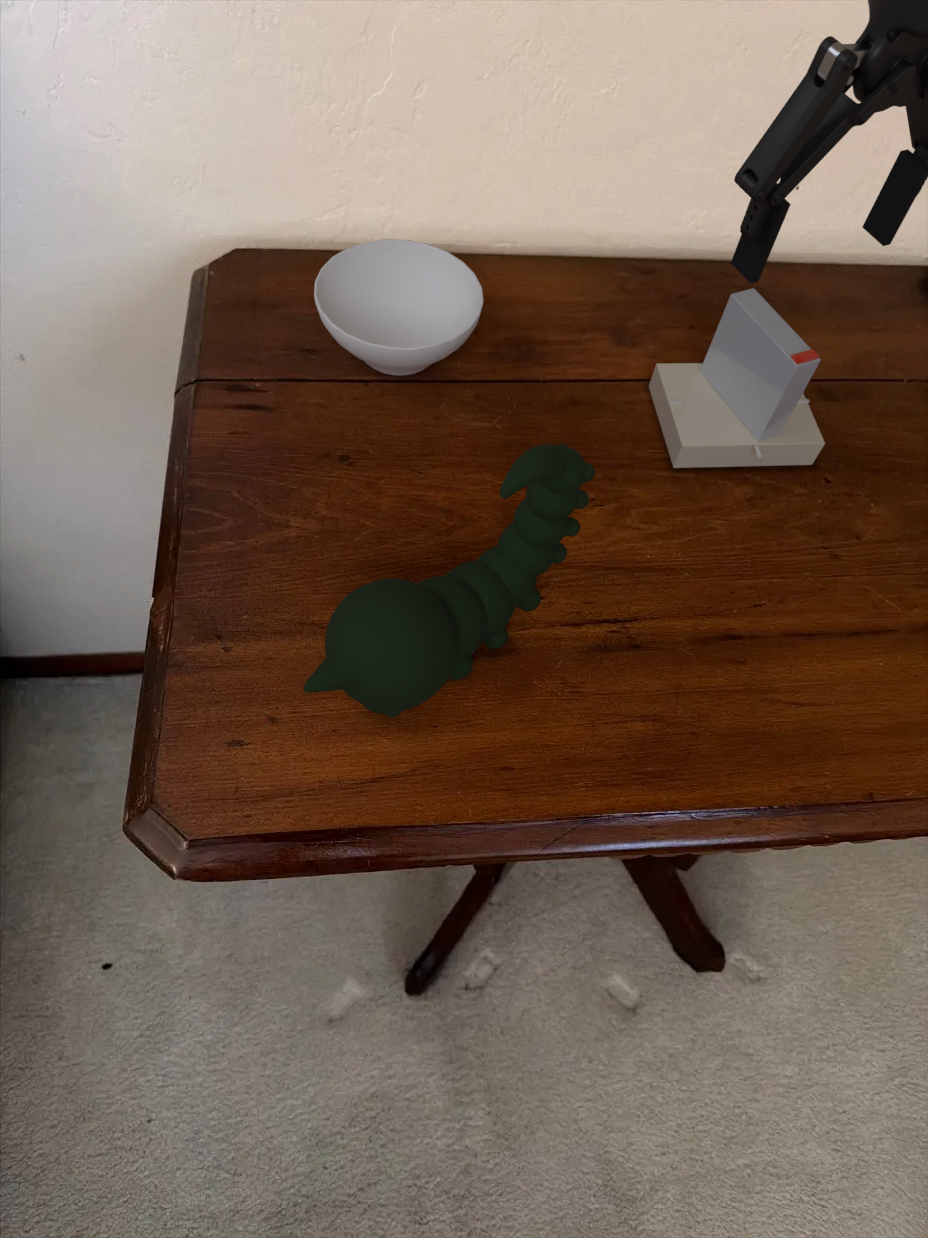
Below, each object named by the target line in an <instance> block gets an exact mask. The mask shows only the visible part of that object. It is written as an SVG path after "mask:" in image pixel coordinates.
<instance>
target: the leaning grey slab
mask: <svg viewBox="0 0 928 1238" xmlns="http://www.w3.org/2000/svg"><path fill="white" fill-rule="evenodd" d="M821 361H822V359H821V358H820V355H819V354H818V353H817V352H816V351H815V349H813V348H811V347H810V346H809V345H808V344H807V343H806V341H804V339H802V337H800V335H798V333H797V332H796V331H795V330H794V329H793V328H792V327H791V326H790V325H789V324H788V323H787V322H786V321H785V319H783V317H782V316H781V315H780V314H779V313H778V312H777V311H776V310H775V308H773V306H771V305H770V303H769V302H768V301H767V300H766V299H765V298H764V297H763V296H762V295H761V294H760V293H759V292H758V290H757V289H755V288H754V287H752V288H748V289H745V290H741V291H738V292H737V291H736V292H733V293H731V294H730V295H729V298H728V300H727V302H726V305H725V308H724V310H723V312H722V315H721V318H720V320H719V322H718V325H717V328H716V330H715V332H714V334H713V337H712V340H711V342H710V344H709V347H708V350H707V352H706V355H705V357H704V360H703V362H702V363H703V364H702V367H701V369H700V372H701V373H702V374H703V375H704V377H705V378H706V379H707V380H708V381H709V383H710V384H711V385H712V386H713V387H714V389H715V390H716V391H717V392H718V393H719V395H720V396H721V397H722V398H723V399H724V401H725V402H726V403H727V404H728V405H729V407H730V408H731V409H732V410H733V411H734V413H735V414H736V415H737V416H738V417H739V419H740V420H741V421H742V422H743V423H744V425H745V426H746V427H747V428H748V429H749V431H750V432H751V433H752V434H753V435H754V437H755V438H756V439H757V440H758V441H761V440H764V439H767V438H770V437H773V436H776V435H779V434H781V432H782V430H783V428H784V426H785V425H786V423H787V421H788V419H789V417H790V416H791V414H792V412H793V410H794V408H795V406H796V405H797V403H798V401H799V399H800V397H801V395H802V394H803V393H805V390H806V388H807V386H808V384H809V382H810V381H811V380H812V378H813V376H814V374H815V371H816V370H817V368H818V367H819V364H820V363H821Z"/></svg>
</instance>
